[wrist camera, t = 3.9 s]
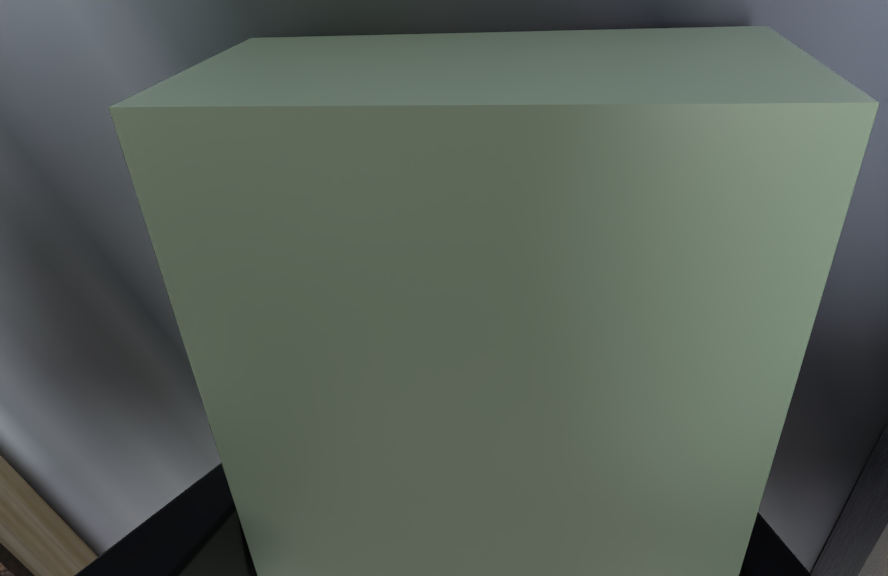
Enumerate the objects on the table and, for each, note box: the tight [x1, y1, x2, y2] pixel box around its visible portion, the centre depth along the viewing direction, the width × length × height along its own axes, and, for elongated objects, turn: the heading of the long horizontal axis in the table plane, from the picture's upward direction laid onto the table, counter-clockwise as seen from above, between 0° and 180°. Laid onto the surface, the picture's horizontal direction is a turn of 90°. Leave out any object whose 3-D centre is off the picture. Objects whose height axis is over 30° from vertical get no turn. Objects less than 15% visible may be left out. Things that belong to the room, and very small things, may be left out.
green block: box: [109, 26, 879, 576], centre depth 9 cm, size 6×12×3 cm, turn 3°
